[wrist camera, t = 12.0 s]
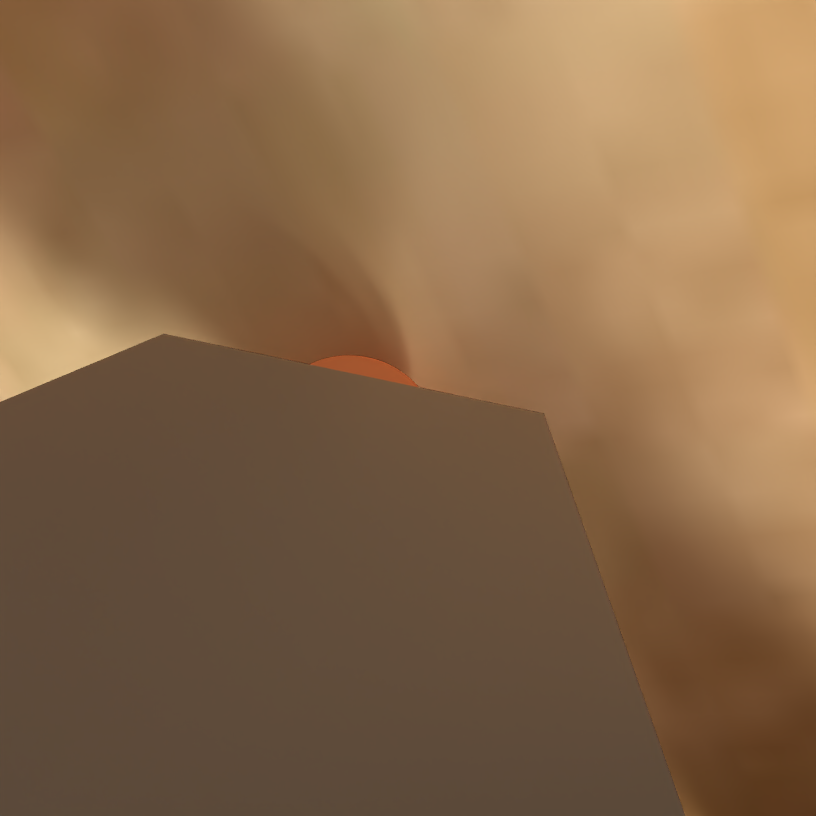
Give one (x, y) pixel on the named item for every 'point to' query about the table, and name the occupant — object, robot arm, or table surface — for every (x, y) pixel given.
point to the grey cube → (301, 602)
